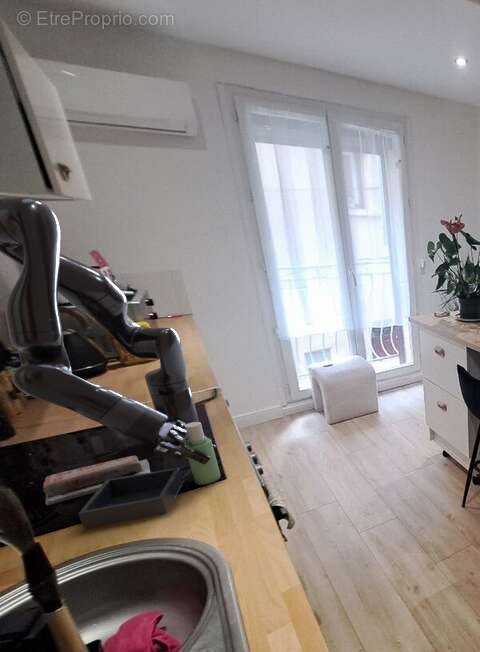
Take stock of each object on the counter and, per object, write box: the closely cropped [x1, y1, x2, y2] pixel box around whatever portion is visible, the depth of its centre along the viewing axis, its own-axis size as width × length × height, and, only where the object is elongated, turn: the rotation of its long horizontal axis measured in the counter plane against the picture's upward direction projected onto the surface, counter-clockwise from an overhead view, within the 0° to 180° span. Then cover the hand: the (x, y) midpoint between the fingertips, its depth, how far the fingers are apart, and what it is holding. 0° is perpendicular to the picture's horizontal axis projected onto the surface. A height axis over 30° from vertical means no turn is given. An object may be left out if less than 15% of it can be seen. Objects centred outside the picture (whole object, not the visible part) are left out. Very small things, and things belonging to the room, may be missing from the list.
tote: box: [77, 467, 184, 530], centre depth 94 cm, size 14×14×5 cm
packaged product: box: [42, 455, 151, 506], centre depth 101 cm, size 18×5×10 cm
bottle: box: [185, 421, 221, 486], centre depth 102 cm, size 5×5×16 cm
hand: (210, 455), depth 103 cm, fingers closed on bottle, 5 cm apart
